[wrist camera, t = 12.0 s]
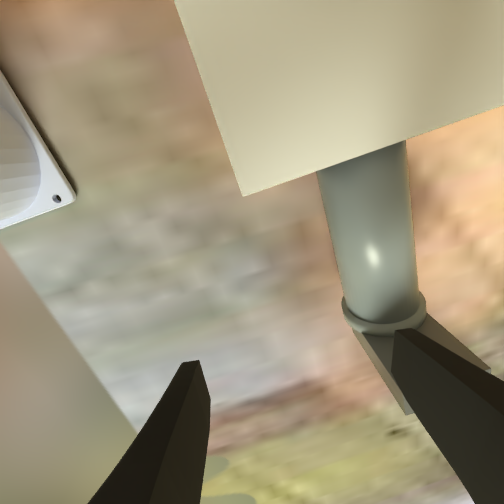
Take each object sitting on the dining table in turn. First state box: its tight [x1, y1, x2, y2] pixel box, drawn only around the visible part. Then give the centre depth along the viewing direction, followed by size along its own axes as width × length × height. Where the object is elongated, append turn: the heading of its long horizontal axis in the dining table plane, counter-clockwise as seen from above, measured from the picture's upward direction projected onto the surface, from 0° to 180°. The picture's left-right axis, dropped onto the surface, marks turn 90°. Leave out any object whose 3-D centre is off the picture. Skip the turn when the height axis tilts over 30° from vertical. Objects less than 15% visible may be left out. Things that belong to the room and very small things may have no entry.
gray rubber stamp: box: [316, 140, 491, 415], centre depth 13 cm, size 5×12×8 cm, turn 19°
